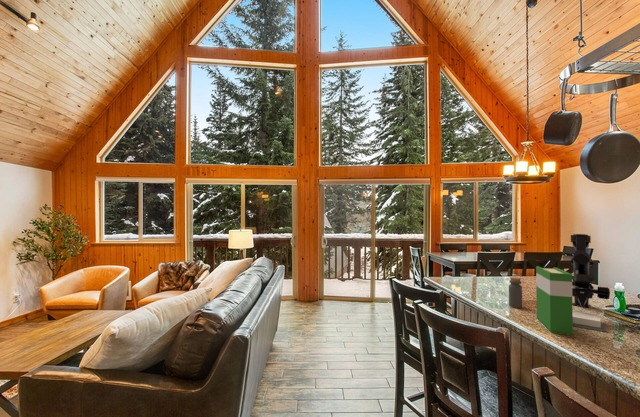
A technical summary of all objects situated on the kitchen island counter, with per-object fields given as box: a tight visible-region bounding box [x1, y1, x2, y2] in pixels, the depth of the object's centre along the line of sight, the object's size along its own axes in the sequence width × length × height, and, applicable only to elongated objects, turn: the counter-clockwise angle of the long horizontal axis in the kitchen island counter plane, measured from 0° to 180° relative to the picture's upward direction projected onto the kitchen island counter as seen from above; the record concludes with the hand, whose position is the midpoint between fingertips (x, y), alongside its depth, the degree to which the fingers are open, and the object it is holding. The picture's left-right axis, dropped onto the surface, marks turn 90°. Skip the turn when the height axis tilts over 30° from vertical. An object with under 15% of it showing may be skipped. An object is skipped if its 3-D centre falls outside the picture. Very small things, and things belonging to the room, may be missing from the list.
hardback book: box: [535, 265, 574, 336], centre depth 132 cm, size 18×7×24 cm, turn 160°
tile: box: [573, 310, 602, 329], centre depth 136 cm, size 3×11×11 cm
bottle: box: [508, 276, 523, 309], centre depth 161 cm, size 6×6×15 cm
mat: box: [573, 322, 609, 333], centre depth 135 cm, size 12×15×1 cm
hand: (582, 306), depth 138 cm, fingers closed
